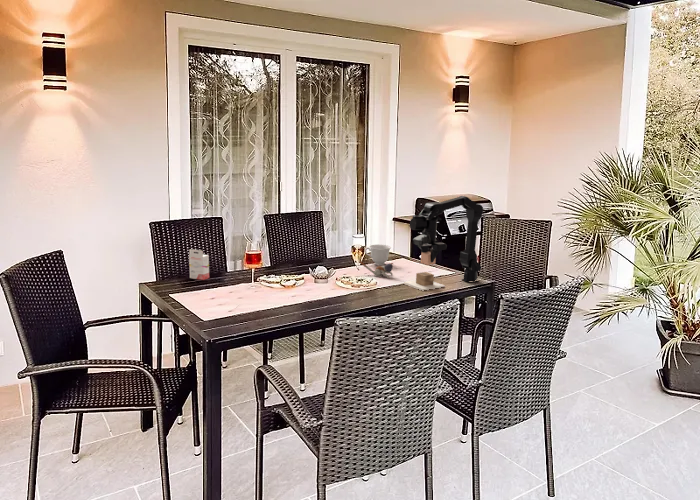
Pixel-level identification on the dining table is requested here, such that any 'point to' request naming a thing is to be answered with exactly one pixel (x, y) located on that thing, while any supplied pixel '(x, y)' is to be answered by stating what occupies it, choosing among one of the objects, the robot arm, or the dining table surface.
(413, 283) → the pad
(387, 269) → the toy
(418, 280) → the walnut block
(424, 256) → the clay block
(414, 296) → the dining table surface
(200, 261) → the ink cartridge box
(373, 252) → the teacup
